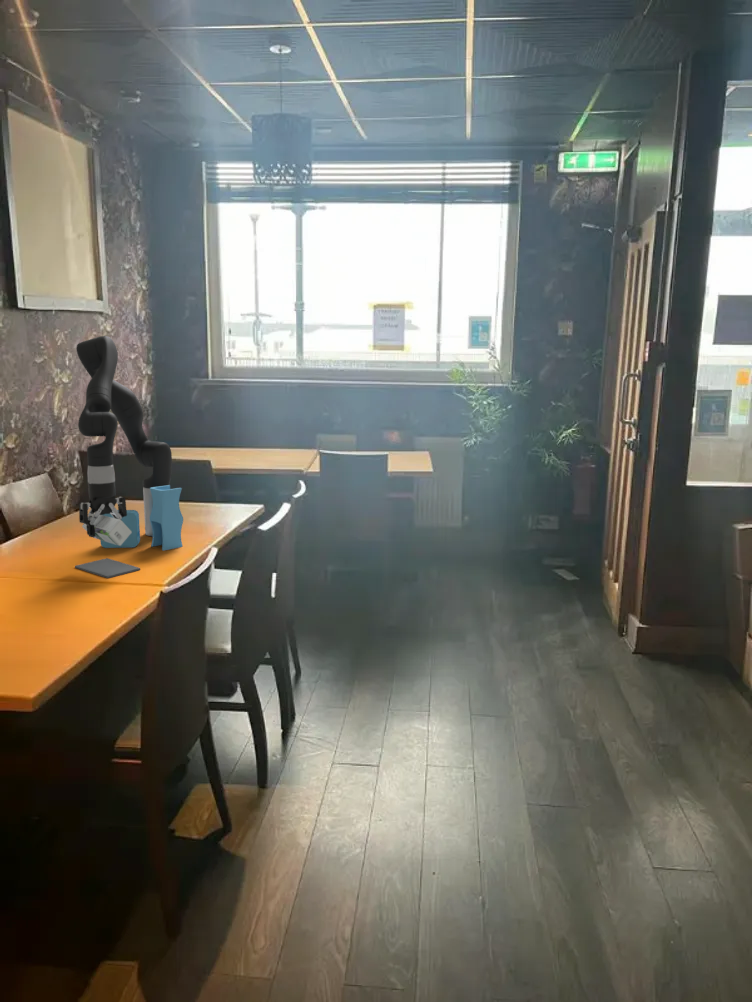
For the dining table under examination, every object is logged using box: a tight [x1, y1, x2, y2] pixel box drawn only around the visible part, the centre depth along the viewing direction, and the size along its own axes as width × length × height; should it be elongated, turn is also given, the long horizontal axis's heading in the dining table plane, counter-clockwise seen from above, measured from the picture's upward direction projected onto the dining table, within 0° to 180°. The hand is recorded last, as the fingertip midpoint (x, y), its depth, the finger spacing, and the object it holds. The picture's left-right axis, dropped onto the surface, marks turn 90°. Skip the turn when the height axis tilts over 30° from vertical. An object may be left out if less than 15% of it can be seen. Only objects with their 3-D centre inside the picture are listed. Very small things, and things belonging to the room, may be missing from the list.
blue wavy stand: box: [150, 484, 184, 551], centre depth 245 cm, size 8×8×20 cm
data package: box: [99, 509, 141, 549], centre depth 246 cm, size 12×4×12 cm, turn 96°
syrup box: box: [81, 513, 132, 546], centre depth 218 cm, size 6×6×14 cm
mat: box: [74, 557, 141, 579], centre depth 221 cm, size 17×11×1 cm, turn 53°
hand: (104, 534), depth 219 cm, fingers closed on syrup box, 8 cm apart
